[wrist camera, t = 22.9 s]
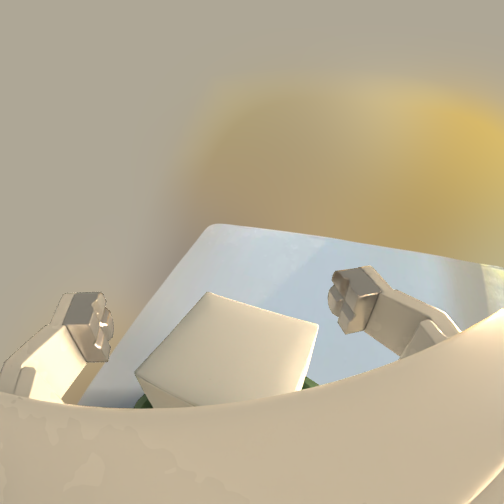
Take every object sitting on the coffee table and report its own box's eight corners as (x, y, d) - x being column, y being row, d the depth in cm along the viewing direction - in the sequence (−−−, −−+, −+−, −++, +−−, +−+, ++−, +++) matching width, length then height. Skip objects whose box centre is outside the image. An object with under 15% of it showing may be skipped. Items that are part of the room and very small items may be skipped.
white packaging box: (293, 417, 21) (325, 323, 14) (260, 487, 15) (278, 444, 8) (218, 390, 23) (207, 287, 17) (178, 450, 17) (128, 372, 11)
